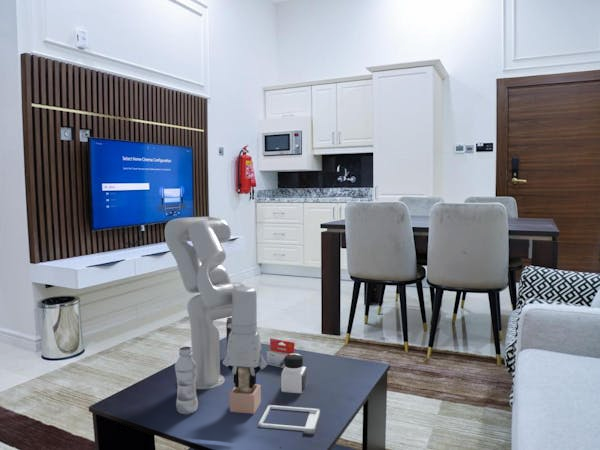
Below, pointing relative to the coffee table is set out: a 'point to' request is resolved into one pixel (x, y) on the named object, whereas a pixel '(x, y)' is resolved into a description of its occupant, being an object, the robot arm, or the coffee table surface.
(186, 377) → the plastic bottle
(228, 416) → the coffee table surface
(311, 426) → the tray
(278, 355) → the ink cartridge box
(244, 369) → the dowel
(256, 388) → the pen pot
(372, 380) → the coffee table surface
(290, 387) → the medicine bottle
